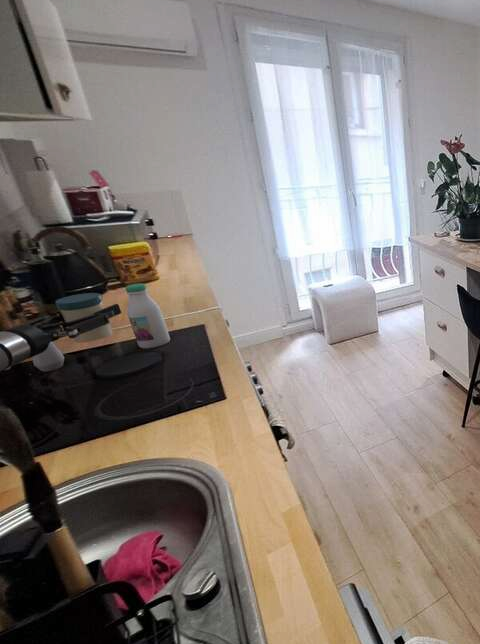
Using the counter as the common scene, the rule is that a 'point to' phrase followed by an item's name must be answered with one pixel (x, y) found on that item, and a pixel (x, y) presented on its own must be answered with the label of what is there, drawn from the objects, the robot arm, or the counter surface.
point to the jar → (84, 312)
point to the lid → (79, 301)
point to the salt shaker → (49, 359)
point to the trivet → (128, 365)
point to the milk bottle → (146, 318)
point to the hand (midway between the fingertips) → (101, 309)
